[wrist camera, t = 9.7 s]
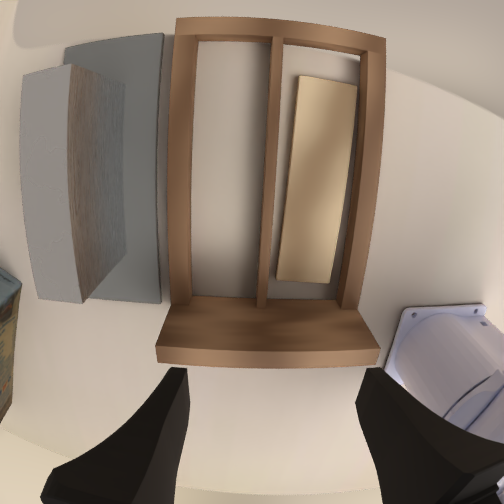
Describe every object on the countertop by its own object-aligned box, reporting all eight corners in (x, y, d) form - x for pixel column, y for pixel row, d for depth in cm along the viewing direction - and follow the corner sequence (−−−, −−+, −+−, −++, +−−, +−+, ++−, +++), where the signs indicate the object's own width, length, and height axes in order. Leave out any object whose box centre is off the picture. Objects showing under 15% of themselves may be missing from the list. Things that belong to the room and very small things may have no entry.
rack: (377, 43, 16) (421, 17, 11) (348, 314, 23) (375, 364, 17) (180, 25, 16) (157, -14, 10) (176, 309, 22) (157, 362, 17)
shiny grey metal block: (125, 84, 17) (71, 63, 10) (126, 253, 20) (82, 303, 14) (86, 89, 16) (23, 75, 10) (90, 251, 20) (38, 298, 14)
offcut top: (353, 87, 18) (357, 86, 17) (326, 279, 22) (329, 283, 21) (298, 77, 17) (299, 75, 17) (275, 275, 22) (276, 280, 21)
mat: (164, 34, 16) (162, 32, 16) (161, 301, 22) (160, 304, 22) (68, 49, 16) (65, 47, 15) (76, 294, 22) (74, 296, 21)
